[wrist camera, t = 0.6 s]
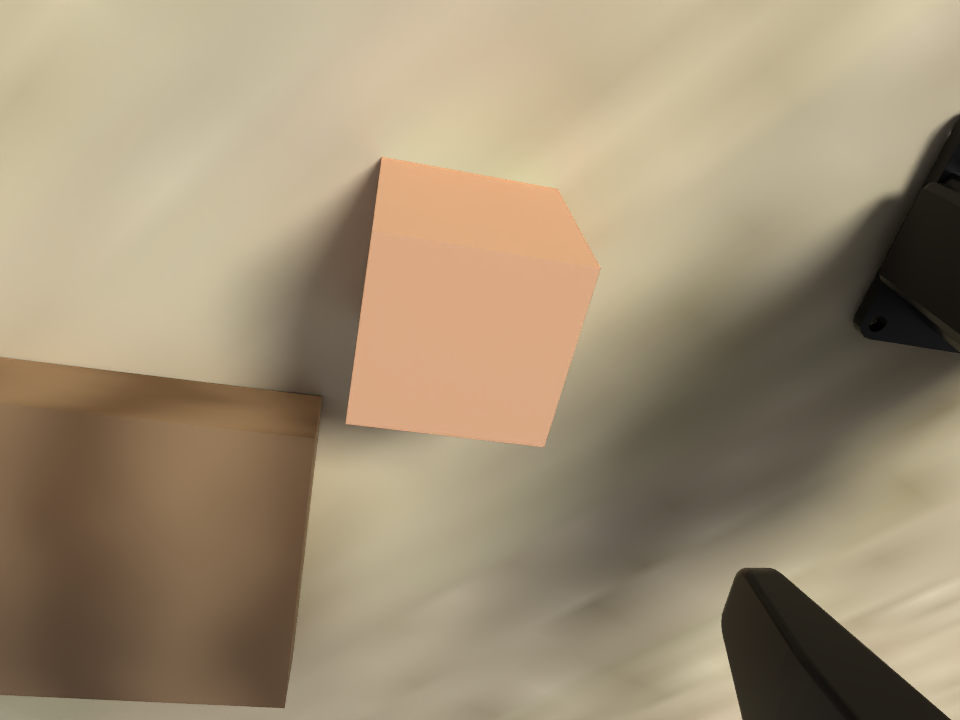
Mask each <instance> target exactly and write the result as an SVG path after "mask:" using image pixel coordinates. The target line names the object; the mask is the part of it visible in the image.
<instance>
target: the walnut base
mask: <svg viewBox="0 0 960 720" xmlns="http://www.w3.org/2000/svg"><path fill="white" fill-rule="evenodd" d="M321 406H322V397H321V396H313V395H304V394H296V393H288V392H280V391H271V390H263V389H255V388H247V387H239V386H230V385H222V384H214V383H206V382H198V381H189V380H181V379H173V378H165V377H156V376H148V375H140V374H132V373H124V372H115V371H107V370H99V369H91V368H83V367H74V366H66V365H58V364H50V363H41V362H33V361H25V360H17V359H9V358H0V695H15V696H37V697H58V698H80V699H101V700H122V701H144V702H165V703H187V704H208V705H230V706H251V707H272V708H285V701H286V695H287V689H288V683H289V676H290V670H291V664H292V658H293V649H294V640H295V632H296V623H297V614H298V606H299V597H300V588H301V580H302V571H303V562H304V554H305V545H306V536H307V528H308V519H309V510H310V502H311V493H312V484H313V476H314V467H315V458H316V449H317V441H318V432H319V423H320V415H321Z"/></svg>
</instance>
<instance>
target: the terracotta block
mask: <svg viewBox="0 0 960 720" xmlns="http://www.w3.org/2000/svg"><path fill="white" fill-rule="evenodd" d="M600 269H601V268H600V266H599V264H598V263H597V261H596V259H595V257H594V255H593V253H592V251H591V250H590V248H589V246H588V244H587V242H586V240H585V239H584V237H583V235H582V233H581V231H580V229H579V227H578V226H577V224H576V222H575V220H574V218H573V216H572V215H571V213H570V211H569V209H568V207H567V205H566V204H565V202H564V200H563V198H562V196H561V194H560V192H559V191H558V189H555V188H550V187H544V186H539V185H533V184H528V183H522V182H517V181H511V180H506V179H500V178H495V177H489V176H484V175H478V174H473V173H467V172H462V171H456V170H451V169H445V168H440V167H434V166H429V165H423V164H418V163H412V162H407V161H401V160H396V159H390V158H385V157H382V159H381V166H380V174H379V181H378V188H377V195H376V203H375V210H374V217H373V225H372V232H371V239H370V246H369V254H368V261H367V268H366V275H365V283H364V290H363V297H362V304H361V312H360V319H359V327H358V334H357V342H356V349H355V357H354V364H353V372H352V379H351V387H350V394H349V402H348V409H347V417H346V424H351V425H359V426H368V427H376V428H385V429H393V430H402V431H411V432H419V433H428V434H436V435H445V436H453V437H462V438H470V439H479V440H488V441H496V442H505V443H513V444H522V445H530V446H539V447H544V446H545V443H546V440H547V437H548V433H549V430H550V427H551V424H552V421H553V418H554V414H555V411H556V408H557V405H558V402H559V399H560V395H561V392H562V389H563V386H564V383H565V380H566V376H567V373H568V370H569V367H570V364H571V361H572V358H573V354H574V351H575V348H576V345H577V342H578V339H579V335H580V332H581V329H582V326H583V323H584V320H585V316H586V313H587V310H588V307H589V304H590V301H591V297H592V294H593V291H594V288H595V285H596V282H597V278H598V275H599V272H600Z"/></svg>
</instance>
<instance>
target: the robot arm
mask: <svg viewBox="0 0 960 720" xmlns="http://www.w3.org/2000/svg"><path fill="white" fill-rule="evenodd" d="M878 316H879V317H878ZM876 317H878V319H877V321H876V322H875V323H873V324H871V325H869V324H870V322H871V321H872V320H873V319H874V318H876ZM853 324H854V327H855V328H856V330H857V331H858V332H859V333H860V334H862V335H863V336H864V337H865V338H868V339H872V340H879V341H885V342H891V343H898V344H904V345H911V346H917V347H923V348H930V349H936V350H943V351H949V352H956V353H960V119H959V120H958V122H957V123H956V125H955V127H954V128H953V130H952V132H951V134H950V136H949V138H948V140H947V142H946V144H945V146H944V147H943V149H942V151H941V153H940V155H939V157H938V159H937V161H936V163H935V164H934V166H933V168H932V170H931V172H930V174H929V176H928V178H927V180H926V182H925V183H924V185H923V187H922V189H921V191H920V193H919V195H918V197H917V199H916V200H915V202H914V204H913V206H912V208H911V210H910V212H909V214H908V216H907V218H906V219H905V221H904V223H903V225H902V227H901V229H900V231H899V233H898V235H897V236H896V238H895V240H894V242H893V244H892V246H891V248H890V250H889V252H888V253H887V255H886V257H885V259H884V261H883V263H882V265H881V267H880V269H879V271H878V272H877V274H876V276H875V278H874V280H873V282H872V284H871V286H870V288H869V289H868V291H867V293H866V295H865V297H864V299H863V301H862V303H861V305H860V307H859V308H858V310H857V312H856V314H855V317H854V320H853ZM721 626H722V634H723V639H724V643H725V647H726V651H727V656H728V660H729V664H730V668H731V673H732V677H733V681H734V685H735V690H736V694H737V698H738V702H739V707H740V711H741V715H742V719H743V720H951V719H950V718H948V717H947V716H946V715H945V714H944V713H943V712H941V711H940V710H939V709H938V708H937V707H936V706H935V705H933V704H932V703H931V702H930V701H929V700H928V699H926V698H925V697H924V696H923V695H922V694H921V693H919V692H918V691H917V690H916V689H915V688H914V687H912V686H911V685H910V684H909V683H908V682H907V681H906V680H904V679H903V678H902V677H901V676H900V675H899V674H897V673H896V672H895V671H894V670H893V669H892V668H890V667H889V666H888V665H887V664H886V663H885V662H883V661H882V660H881V659H880V658H879V657H878V656H877V655H875V654H874V653H873V652H872V651H871V650H870V649H868V648H867V647H866V646H865V645H864V644H863V643H861V642H860V641H859V640H858V639H857V638H856V637H854V636H853V635H852V634H851V633H850V632H849V631H848V630H846V629H845V628H844V627H843V626H842V625H841V624H839V623H838V622H837V621H836V620H835V619H834V618H832V617H831V616H830V615H829V614H828V613H827V612H825V611H824V610H823V609H822V608H821V607H820V606H819V605H817V604H816V603H815V602H814V601H813V600H812V599H810V598H809V597H808V596H807V595H806V594H805V593H803V592H802V591H801V590H800V589H799V588H798V587H796V586H795V585H794V584H793V583H792V582H791V581H789V580H788V579H787V578H786V577H785V576H784V575H783V574H781V573H780V572H778V571H777V570H775V569H772V568H743V569H741V570H739V571H738V572H737V574H736V576H735V578H734V581H733V584H732V587H731V590H730V593H729V595H728V598H727V601H726V604H725V607H724V610H723V613H722V620H721Z"/></svg>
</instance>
